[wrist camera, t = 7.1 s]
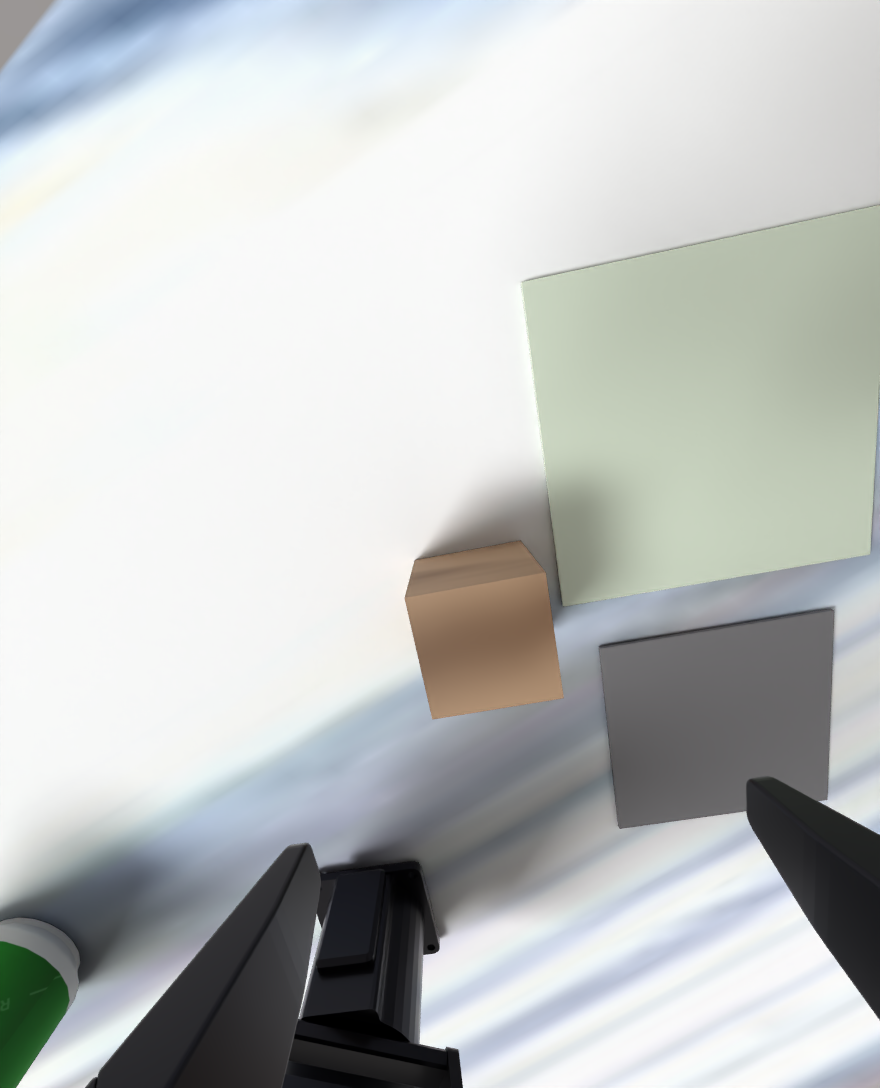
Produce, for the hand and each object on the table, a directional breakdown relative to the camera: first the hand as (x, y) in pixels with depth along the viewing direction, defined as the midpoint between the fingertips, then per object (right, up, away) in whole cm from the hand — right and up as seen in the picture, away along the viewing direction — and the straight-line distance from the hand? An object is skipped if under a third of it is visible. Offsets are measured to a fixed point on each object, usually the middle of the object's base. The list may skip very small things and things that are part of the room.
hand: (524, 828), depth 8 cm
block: (0, +3, +12) cm, 12 cm away
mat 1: (+10, +11, +10) cm, 17 cm away
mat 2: (+13, -4, +13) cm, 19 cm away
